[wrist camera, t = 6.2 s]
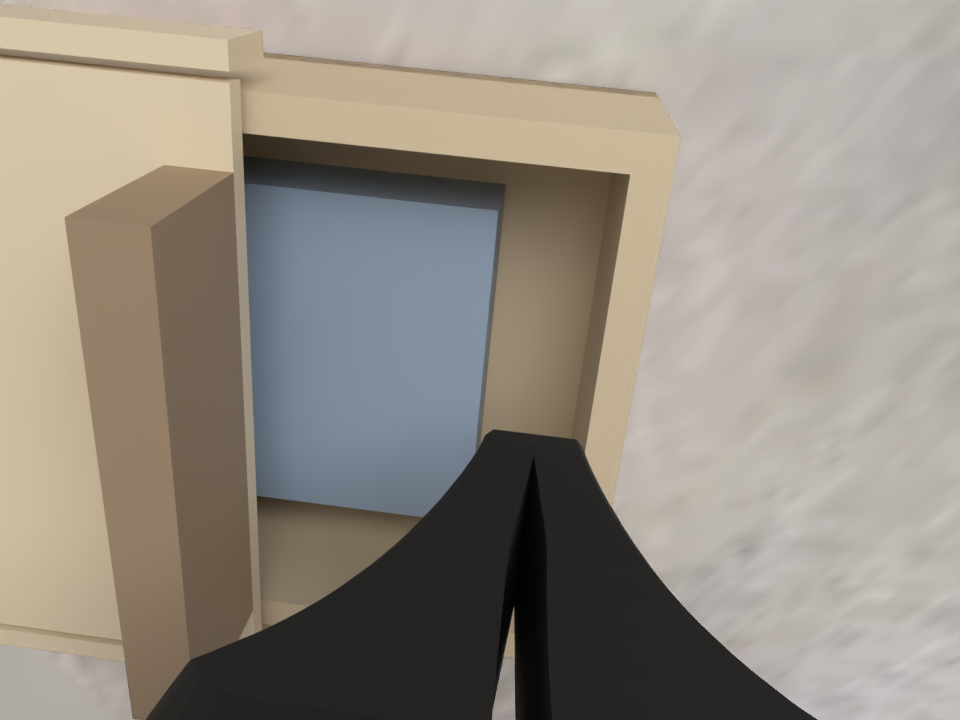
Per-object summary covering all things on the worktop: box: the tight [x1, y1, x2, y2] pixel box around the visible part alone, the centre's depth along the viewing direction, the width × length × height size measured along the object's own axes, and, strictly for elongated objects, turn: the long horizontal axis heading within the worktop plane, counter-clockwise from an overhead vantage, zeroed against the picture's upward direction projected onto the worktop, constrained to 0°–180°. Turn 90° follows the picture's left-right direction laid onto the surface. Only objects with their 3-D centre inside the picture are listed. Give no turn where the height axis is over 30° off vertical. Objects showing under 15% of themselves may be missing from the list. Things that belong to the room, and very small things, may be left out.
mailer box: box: [0, 48, 681, 658], centre depth 16 cm, size 10×14×4 cm
